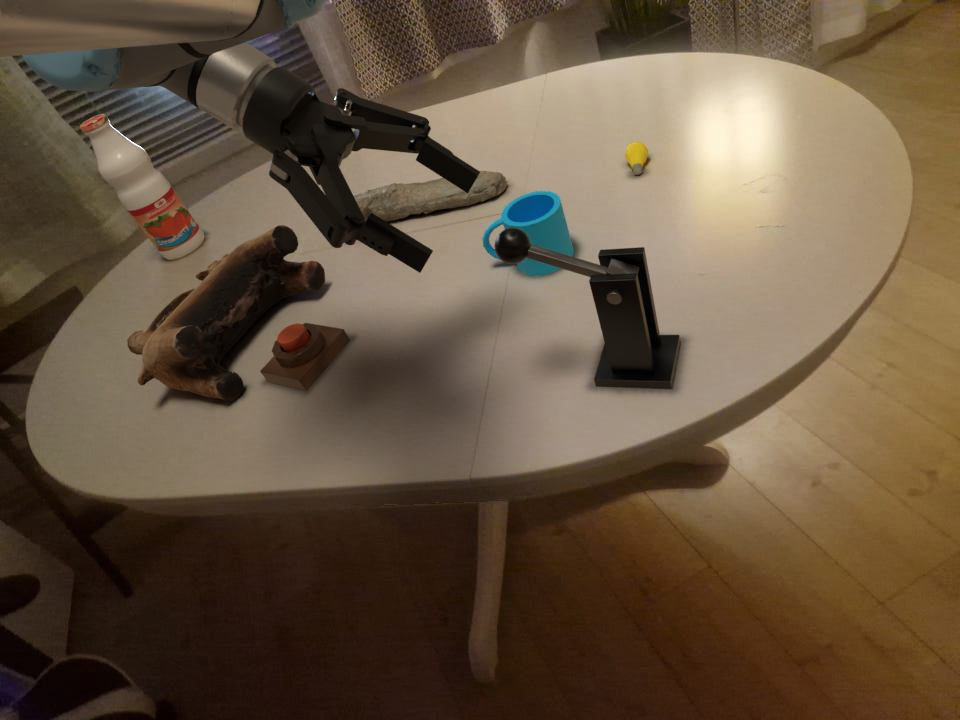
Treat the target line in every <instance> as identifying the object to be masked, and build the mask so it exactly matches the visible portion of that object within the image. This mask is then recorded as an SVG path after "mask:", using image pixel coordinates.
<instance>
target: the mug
mask: <svg viewBox="0 0 960 720" xmlns="http://www.w3.org/2000/svg"><path fill="white" fill-rule="evenodd" d="M502 225H503V228H504V230H505V229H507V228H518V229H521V230H523V231H524V232H525V233H526V234H527V235H528V237H529V239H530V242H531V244H532V245H536V246H539V247H542V248H545V249H549V250H552V251H555V252H559V253H562V254H565V255H569V256H572V257H574V254H575V250H574V246H573V241H572V238H571V235H570V230H569V226H568V222H567V219H566V216H565V212H564V208H563V203H562V200H561V197H560V196H559V195H558V194H557V193H556V192H553V191H550V190H549V191H548V190H539V191H532V192H528V193H525V194H523V195H520V196H518V197H516V198H515V199H513V200H512V201H509V203H507V205H505V207H503V209H502V211H501V213H500V218H497V219H496V220H494V221H493V222H492V223H490V224H489V225H488V227H487V228H486V229H485V230H484V232H483V235H482V238H481V239H482V246H483V248H484V250H485V251H486V253H487V254H488V255H490V256H491V257H492V258H493V259H496V260H500V259H499V257H498V256H497V254H496V251H495V247H493V246H492V244H491V243H490V237H491V234H492V233H493V232H494V230H495V229H497V228H499V227H500V226H502ZM500 261H501V260H500ZM516 267H517V268H518V270H519V272H521V273H522V274H524V275H526V276H533V277H537V276H545V275H549V274H553V273H555V272H557V271H559V270H561V269H562V268H558V267H555V266H552V265H549V264H545V263H542V262H539V261H535V260H532V259H529V258H526V259H525V260H524V261H522V262H521V263H518V264H516Z"/></svg>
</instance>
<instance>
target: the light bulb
mask: <svg viewBox="0 0 960 720" xmlns="http://www.w3.org/2000/svg"><path fill="white" fill-rule="evenodd" d="M648 155H649V149H648V147H647V145H645V143H644V142H641V141H633V142H631V143H630V144H629V145H627V147H626V148H625V152H624V158H625V160H626V162H627V163H628V164H629V165H630V168H631V169H632V173H633V175H635V176H639V175H641V174H642V173H643V167H644V164H645V163H646V162H647V160H648Z"/></svg>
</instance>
